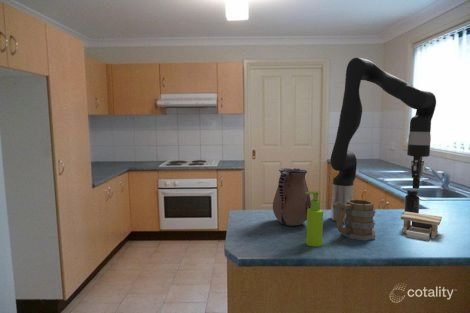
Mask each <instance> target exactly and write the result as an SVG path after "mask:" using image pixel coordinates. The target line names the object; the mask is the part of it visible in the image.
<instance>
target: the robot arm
mask: <svg viewBox="0 0 470 313" xmlns="http://www.w3.org/2000/svg"><path fill="white" fill-rule="evenodd" d="M344 80H345V81H344V83H345V84H344V92H343V97H342V98H343V99H342V106H341V110H340V114H339V119H338V120H339V122H338V127H337V132H336V137H335V140H334V141H335V142H334V144H333V148H332V151H331V155H330V161H329V162H330V166H331V168H332V169H333V170H334V171H336V172H338V174H337V175H336V176H335V177H333V179H332V198H331V199H330V200H331V202H330V219H331V220H332V221H333V222H337V219H338V217H339V212H340V207H337V208H336V209H335V208H334V207H333V204H334V203H336V202H337V201H338V202H340V203H342V204H344V205H347V200H352V199H354V198H353V197H354V195H353V194H354V181H355V180H356V176H357V174H356V173H357V165H358V164H357V162H358V161H357V156H356V154H355V153H354V152H353V151H350V150H348V149H349V145H350V142H351V140H352V139H353V137H354V136H355V134H356V132H357V131H358V129H359V128H360V125H361V120H362V115H363V104H362V100H361V96H360V87H361V81H365V82H370V83H372V84H375V85H377V86H378V87H379V88H381V89H382V91H384V92H385V93H387V94H388V95H390V96H392V97H394V98H396V99H397V100H400V102H402V103H403V104H405V105H406V106H408V107H409V108H410V109H411V108H412V109H414V110H416V111H415V115H414V116H412V117H411V119H410V120H409V133H408V139H407V140H408V141H407V151H406V152H407V153H406V154H407V156H408V157H413V159H412V160H411V162H410V168H411V178H412V189H414V190H415V189H416V190H417V189H420V185H421V178H422V176H423V174H422V173H423V172H424V171H423V170H424V165H425V161H424V160H423V158H427V157H430V155H431V154H430V153H431V141H432V140H431V139H432V137H431V136H432V134H431V132H432V119H433V117H434V113H435V110H436V106H437V98H436V96H435V94H434V93H433V92H431V91H425V90H421V89H419V88H416V87H414V86H413V85H412V84H411V83H410V82H407V81H405V80H404V79H401V78H399V77H397V76H395V75H393V74H391V73H389V72H387V71H385V70H383V69H381V67H379V66H378V65H376V64H375V63H374V62H373V61H371V60H370V59H366V58H362V57H354V58H351V59H350V60H349V61H348V63H347V66H346V70H345V78H344ZM345 217H346V213H345ZM345 217H344V219H345ZM344 219H343V222H342V223H344Z"/></svg>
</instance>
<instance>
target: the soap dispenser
mask: <svg viewBox="0 0 470 313" xmlns="http://www.w3.org/2000/svg"><path fill="white" fill-rule="evenodd" d="M305 194H307V195H308V194H309V195H312V197H313V198H312V200H311V199H310V200H311V208H309V209H307V220H306V230H305V232H306V233H305V234H306V235H305V236H306V238H305V239H306V240H305V244H306V245H307V246H311V247H316V248H317V247H321V246H323V227H324V209H322V208H321V200H319V195H321V192H319V191H312V190H311V191H309V192H305Z"/></svg>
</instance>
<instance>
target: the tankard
mask: <svg viewBox="0 0 470 313" xmlns="http://www.w3.org/2000/svg"><path fill="white" fill-rule="evenodd" d="M374 205H375V203H374V201H370V200H367V199H358V198H357V199H355V198H353V199H352V200H347V205H344V204H342V203H340V202H338V201H337V202H336V203H334V204H333V207H334V208H335V209H336V208H337V207H340V212H339V217H338V219H337V221H336V228H337V231H338V233H340V234H341V235H342V236H344V237H346V238H349V239H351V240H358V241H373V240H376V233H377V232H376V231H375V230H373V229H374V228H375V225H376V222H375V220H374V217H375V214H376V213H377V212H376V208H374V207H375V206H374ZM345 213H346V217H345ZM344 217H345V219H344ZM343 219H344V222H343ZM343 225H344V226H343Z"/></svg>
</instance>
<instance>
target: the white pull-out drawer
mask: <svg viewBox="0 0 470 313" xmlns="http://www.w3.org/2000/svg"><path fill="white" fill-rule="evenodd" d="M431 235H432V231H431V228H430V229H426V228H419V227H413V226H412V224H411V225H410V227H409V229H408V230H406V233H405V237H406V238H411V239H418V240H423V241H427V240H428V241H429V240H430V238H431Z"/></svg>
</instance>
